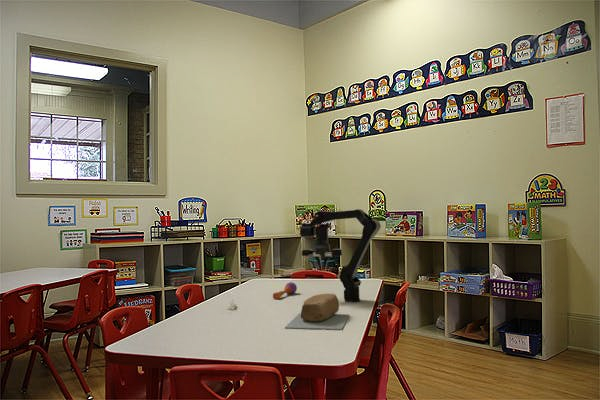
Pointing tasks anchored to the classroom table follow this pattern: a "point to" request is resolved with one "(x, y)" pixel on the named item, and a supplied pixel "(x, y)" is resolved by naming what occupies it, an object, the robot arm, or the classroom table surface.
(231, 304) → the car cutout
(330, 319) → the mat
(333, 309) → the block
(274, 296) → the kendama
